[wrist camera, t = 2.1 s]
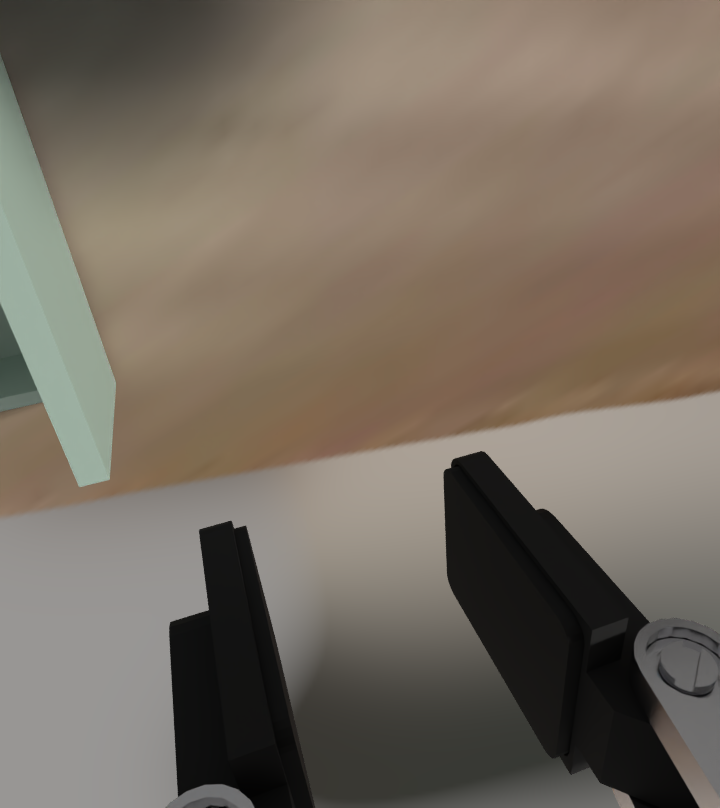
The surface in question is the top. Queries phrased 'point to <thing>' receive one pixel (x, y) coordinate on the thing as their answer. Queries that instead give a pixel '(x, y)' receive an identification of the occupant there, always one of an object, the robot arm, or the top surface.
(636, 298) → the top surface
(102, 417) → the tray
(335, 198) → the top surface
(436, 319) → the top surface
